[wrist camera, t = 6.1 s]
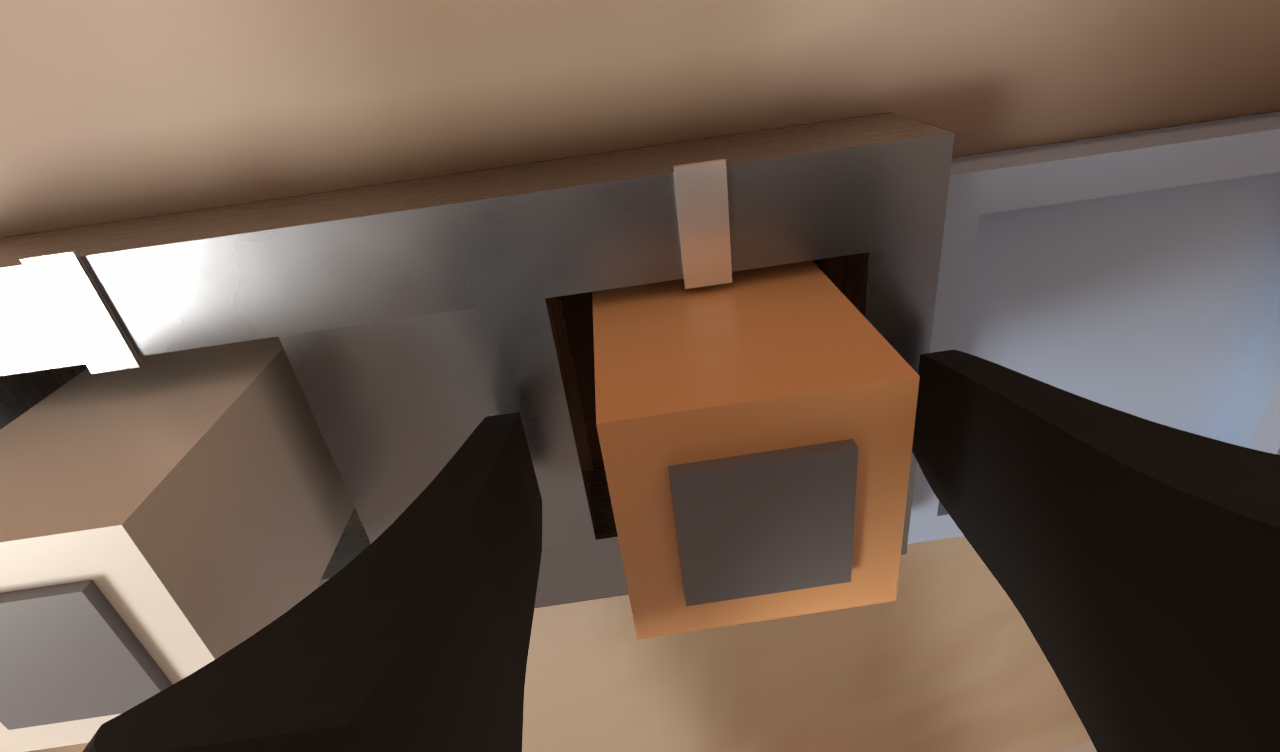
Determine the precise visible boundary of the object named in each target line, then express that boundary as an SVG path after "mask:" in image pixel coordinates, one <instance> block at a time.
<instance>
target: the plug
mask: <svg viewBox="0 0 1280 752" xmlns="http://www.w3.org/2000/svg"><path fill="white" fill-rule="evenodd" d="M592 300H593V334H594V367H595V401H596V425H597V431H598V436H599V441H600V446H601V452H602V457H603V462H604V467H605V472H606V478H607V483H608V488H609V493H610V498H611V504H612V509H613V514H614V519H615V525H616V530H617V535H618V540H619V545H620V551H621V556H622V561H623V566H624V571H625V577H626V582H627V587H628V592H629V597H630V603H631V608H632V613H633V618H634V624H635V629H636V634H637V639H643V638H650V637H656V636H663V635H670V634H676V633H683V632H690V631H697V630H703V629H710V628H717V627H723V626H730V625H737V624H744V623H750V622H757V621H764V620H770V619H777V618H784V617H791V616H797V615H804V614H811V613H817V612H824V611H831V610H837V609H844V608H851V607H858V606H864V605H871V604H878V603H884V602H891V601H896V595H897V586H898V576H899V567H900V557H901V548H902V539H903V529H904V520H905V510H906V501H907V492H908V482H909V473H910V463H911V454H912V445H913V435H914V426H915V416H916V407H917V398H918V388H919V379H920V376H919V375H918V374H917V373H916V372H915V370H914V369H913V368H912V367H911V366H910V365H909V364H908V363H907V362H906V361H905V360H904V359H903V358H902V357H901V355H900V354H899V353H898V352H897V351H896V350H895V349H894V348H893V347H892V346H891V345H890V344H889V343H888V342H887V340H886V339H885V338H884V337H883V336H882V335H881V334H880V333H879V332H878V331H877V330H876V329H875V328H874V326H873V325H872V324H871V323H870V322H869V321H868V320H867V319H866V318H865V317H864V316H863V315H862V314H861V313H860V311H859V310H858V309H857V308H856V307H855V306H854V305H853V304H852V303H851V302H850V301H849V300H848V299H847V298H846V296H845V295H844V294H843V293H842V292H841V291H840V290H839V289H838V288H837V287H836V286H835V285H834V284H833V283H832V281H831V280H830V279H829V278H828V277H827V276H826V275H825V274H824V273H823V272H822V271H821V270H820V269H819V268H818V266H817V265H816V264H815V263H814V262H813V261H812V260H811V261H804V262H797V263H790V264H783V265H776V266H769V267H762V268H755V269H748V270H741V271H734V272H732V283H725V284H718V285H711V286H704V287H697V288H690V289H685V287H684V279H678V280H671V281H664V282H657V283H650V284H643V285H636V286H629V287H622V288H615V289H608V290H601V291H594V292H592Z"/></svg>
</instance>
